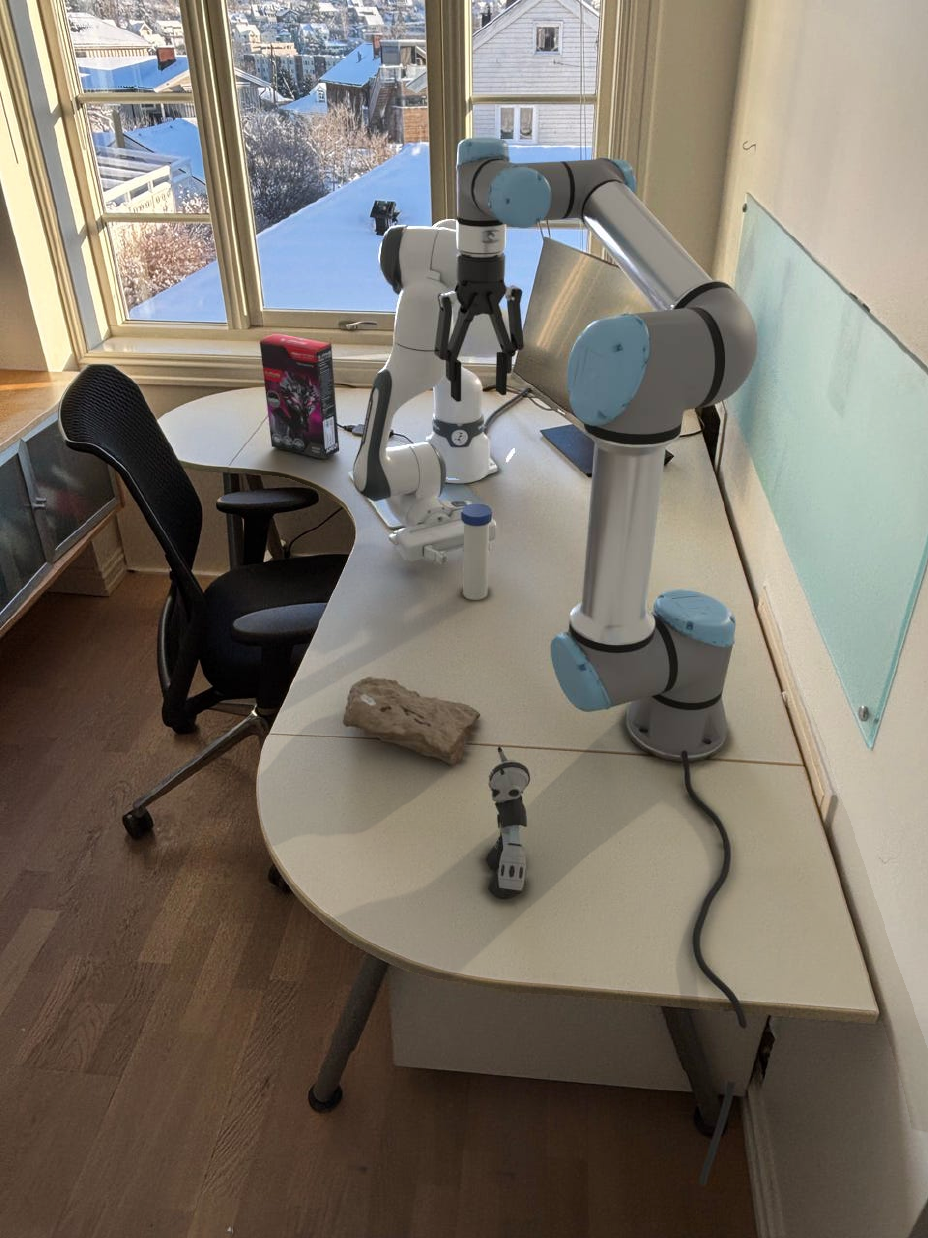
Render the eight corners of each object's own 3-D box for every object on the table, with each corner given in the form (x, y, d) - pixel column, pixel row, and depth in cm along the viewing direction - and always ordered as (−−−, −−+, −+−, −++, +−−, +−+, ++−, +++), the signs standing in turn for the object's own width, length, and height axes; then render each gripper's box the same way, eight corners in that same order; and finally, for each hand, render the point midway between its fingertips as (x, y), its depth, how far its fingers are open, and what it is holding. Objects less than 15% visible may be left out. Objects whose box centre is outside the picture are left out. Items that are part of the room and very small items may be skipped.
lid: (458, 524, 165) (458, 515, 164) (464, 510, 170) (464, 501, 169) (488, 527, 164) (489, 518, 163) (494, 513, 169) (494, 504, 168)
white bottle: (460, 598, 174) (461, 516, 165) (465, 585, 178) (466, 505, 168) (485, 601, 174) (487, 519, 164) (489, 588, 177) (491, 507, 168)
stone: (316, 734, 137) (323, 699, 134) (354, 694, 150) (361, 661, 148) (449, 783, 133) (458, 749, 131) (475, 737, 146) (484, 705, 144)
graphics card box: (269, 447, 232) (256, 339, 216) (286, 438, 237) (274, 331, 221) (325, 461, 225) (316, 350, 210) (341, 451, 230) (333, 342, 215)
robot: (531, 936, 111) (540, 818, 100) (491, 937, 111) (496, 820, 100) (516, 817, 127) (522, 704, 116) (481, 818, 127) (484, 705, 116)
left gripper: (384, 520, 179) (415, 551, 169) (476, 498, 187) (511, 527, 177) (385, 549, 182) (416, 581, 172) (476, 526, 190) (510, 556, 180)
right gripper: (427, 262, 135) (429, 411, 148) (551, 251, 142) (543, 395, 154) (410, 251, 141) (413, 396, 154) (530, 241, 147) (523, 380, 160)
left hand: (465, 553), depth 175 cm, fingers open, 8 cm apart
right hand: (478, 395), depth 154 cm, fingers open, 7 cm apart
